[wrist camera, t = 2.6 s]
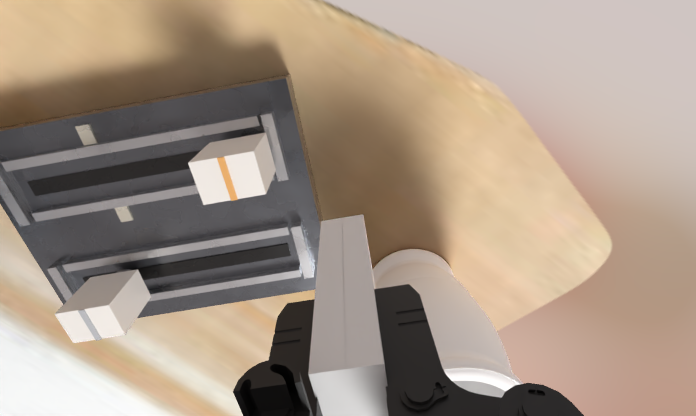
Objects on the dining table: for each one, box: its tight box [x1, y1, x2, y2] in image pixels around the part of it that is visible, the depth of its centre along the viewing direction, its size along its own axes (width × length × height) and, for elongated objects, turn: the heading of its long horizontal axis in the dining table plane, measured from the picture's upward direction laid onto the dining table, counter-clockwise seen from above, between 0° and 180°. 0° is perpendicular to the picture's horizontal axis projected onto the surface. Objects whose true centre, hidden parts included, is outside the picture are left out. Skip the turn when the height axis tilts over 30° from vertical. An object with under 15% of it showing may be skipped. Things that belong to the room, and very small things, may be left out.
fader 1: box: [55, 269, 151, 343], centre depth 30 cm, size 4×3×6 cm
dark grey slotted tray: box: [0, 74, 323, 318], centre depth 31 cm, size 24×18×4 cm
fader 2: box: [188, 133, 276, 205], centre depth 26 cm, size 4×3×6 cm
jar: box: [373, 249, 523, 398], centre depth 31 cm, size 11×10×15 cm
